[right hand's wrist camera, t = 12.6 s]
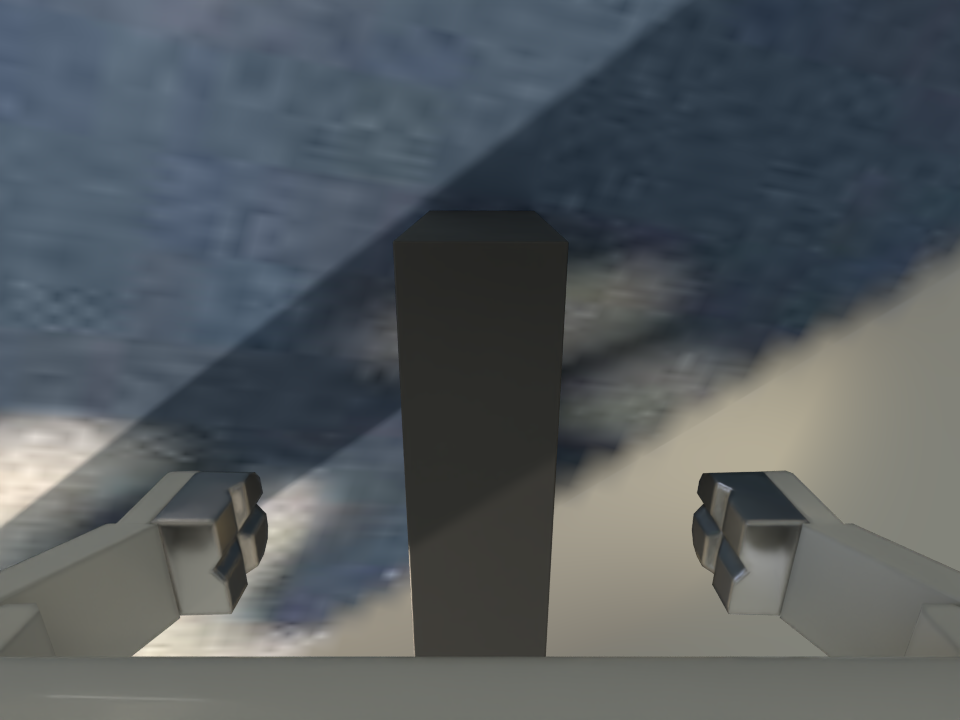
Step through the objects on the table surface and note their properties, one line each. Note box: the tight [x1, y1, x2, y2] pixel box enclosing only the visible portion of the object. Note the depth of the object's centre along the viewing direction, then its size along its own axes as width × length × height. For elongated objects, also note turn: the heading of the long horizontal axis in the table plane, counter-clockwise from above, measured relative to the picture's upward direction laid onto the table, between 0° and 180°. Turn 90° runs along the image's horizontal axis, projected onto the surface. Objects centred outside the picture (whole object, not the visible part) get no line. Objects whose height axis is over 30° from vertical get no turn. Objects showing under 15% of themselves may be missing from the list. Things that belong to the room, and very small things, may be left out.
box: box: [393, 211, 568, 657], centre depth 28 cm, size 21×6×13 cm, turn 0°
